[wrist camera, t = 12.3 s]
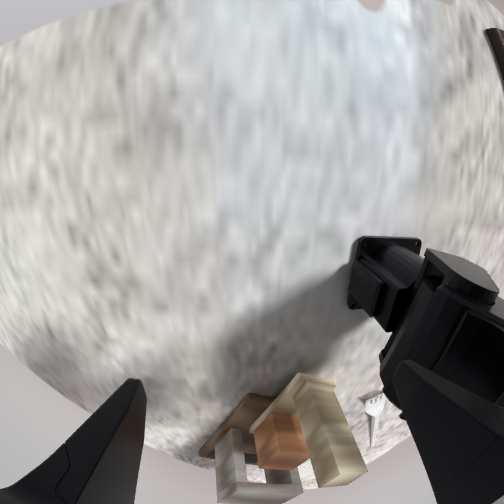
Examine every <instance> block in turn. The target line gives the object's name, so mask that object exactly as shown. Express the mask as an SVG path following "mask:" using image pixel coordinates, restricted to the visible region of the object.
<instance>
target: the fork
mask: <svg viewBox="0 0 504 504" xmlns="http://www.w3.org/2000/svg"><path fill="white" fill-rule="evenodd" d="M380 396H381V400H379V399H380ZM385 398H386V396H385V395H384V393H381V394H379V395H377V396H375V397H373V398H370V399H368V400H366V401H365V408H366V409H365V412H366V413H367V414H369V415H372V419H371V447H374V444H375V438H376V432H377V426H378V419H379V415H380V413H381V411H382V409H383V407H384V404H385ZM371 399H372V403H371V404H370V401H371ZM375 399H376V402H375ZM374 402H375V403H374Z"/></svg>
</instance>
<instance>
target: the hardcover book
mask: <svg viewBox="0 0 504 504" xmlns="http://www.w3.org/2000/svg"><path fill="white" fill-rule="evenodd" d="M486 32H487V34H488V37H489V39H490V42H491V44H492V47H493V49H494V52H495V55H496V58H497V61H498V64H499V67H500V70H501V73H502V76H503V80H504V31H503V30H500V29H498V28H490V29H486Z"/></svg>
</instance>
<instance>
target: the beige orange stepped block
mask: <svg viewBox="0 0 504 504" xmlns="http://www.w3.org/2000/svg"><path fill="white" fill-rule="evenodd" d="M335 386H336V384H335V382H334V380H330V379H325V378H321V377H317V376H312V375H308V374H304V373H300V372H298V373H297V375H296V376H295V377H294V378H293V379H292V381H291V382H290V383H289V384H288V385H287V386H286V388H285V389H284V390H283V391H282V392H281V393H280V394H279V396H278V397H277V398H276V399H275V400H274V401H273V402H272V403H271V405H270V406H269V407H268V408H267V409H266V410H265V411H264V412H263V413H262V414H261V415H260V417H259V418H258V419H257V420H256V421H255V422H254V423H253V424H252V425H251V426H250V427H249V431H250V433H253V434H254V438H255V445H256V452H257V459H258V465H259V468H260V469H274V470H293V469H295V468H296V467H298V466H299V465H301V464H302V463H303V462H305V461H306V460H307V459H309V458H310V460H311V463H312V467H313V470H314V474H315V477H316V481H317V484H318V487H319V488H323V487H334V486H343V485H348V484H349V483H351V482H352V481H354V480H356V479H357V478H359V477H360V476H362V475H363V474H365V473H366V472H368V470H367V468H366V465H365V463H364V461H363V458H362V456H361V453H360V451H359V449H358V446H357V444H356V442H355V439H354V437H353V435H352V432H351V430H350V427H349V425H348V423H347V420H346V418H345V416H344V414H343V411H342V409H341V407H340V404H339V402H338V400H337V397H336V395H335V393H334V391H333V389H334V388H335Z"/></svg>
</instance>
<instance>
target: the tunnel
mask: <svg viewBox="0 0 504 504" xmlns="http://www.w3.org/2000/svg"><path fill="white" fill-rule="evenodd" d="M274 400H275V399H273V398H268V397H264V396H259V395H255V394H251V393H248V394H247V396H246V397H245V398H244V399H243V400H242V402H241V403H240V404H239V405H238V407H237V408H236V409H235V410H234V411H233V413H232V414H231V415H230V416H229V417H228V419H227V420H226V421H225V422H224V423H223V424H222V426H221V427H220V428H219V429H218V430H217V431H216V433H215V434H214V435H213V436H212V437H211V438H210V439H209V440H208V442H207V443H206V444H205V445H204V446H203V447H202V448H201V449H200V450H199V456H201V457H206V458H211V459H215V463H216V485H217V502H218V503H227V504H282V503H284V502H286V501H288V500H290V499H292V498H294V497H296V496H298V495H300V494H301V493H303V488H302V484H301V480H300V476H299V472H298V468H297V467H296V468H295V469H293V470H274V469H264V471H265V477H266V483H267V484H266V483H250V482H247V475H246V466H245V464H252V465H258V459H257V452H256V445H255V438H254V434H253V433H250V431H249V427H250V426H251V425H252V424H253V423H254V422H255V421H256V420H257V419H258V418H259V417H260V415H261V414H262V413H263V412H264V411H265V410H266V409H267V408H268V407H269V406H270V405H271V403H272V402H273V401H274Z"/></svg>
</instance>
